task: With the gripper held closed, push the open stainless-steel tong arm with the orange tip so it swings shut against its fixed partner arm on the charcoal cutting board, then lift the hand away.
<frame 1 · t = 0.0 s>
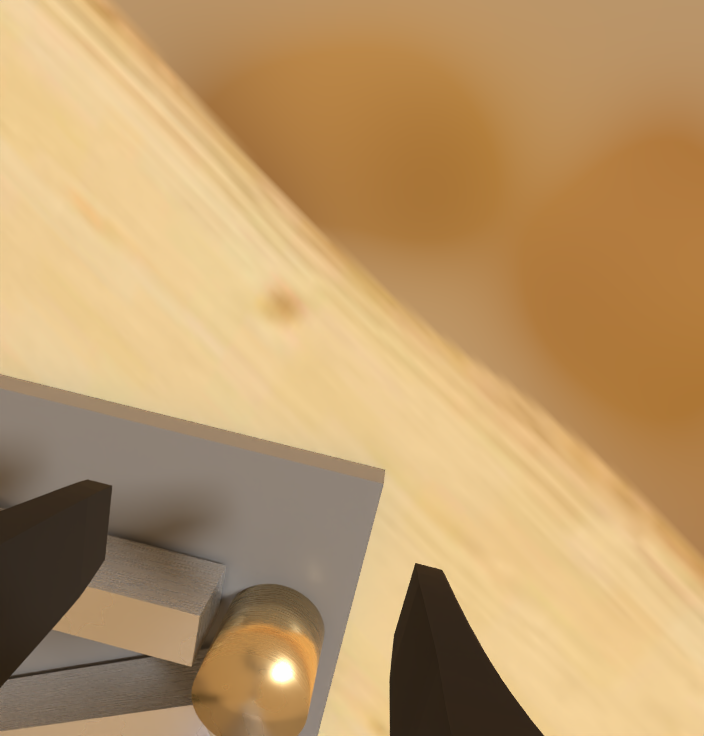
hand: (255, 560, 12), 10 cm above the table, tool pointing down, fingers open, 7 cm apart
cutting board: (90, 593, 26), on the table
tongs fixed: (273, 631, 24), resting on cutting board
tong arm: (52, 719, 24), point 3 cm above the table, hinge at 28.0°
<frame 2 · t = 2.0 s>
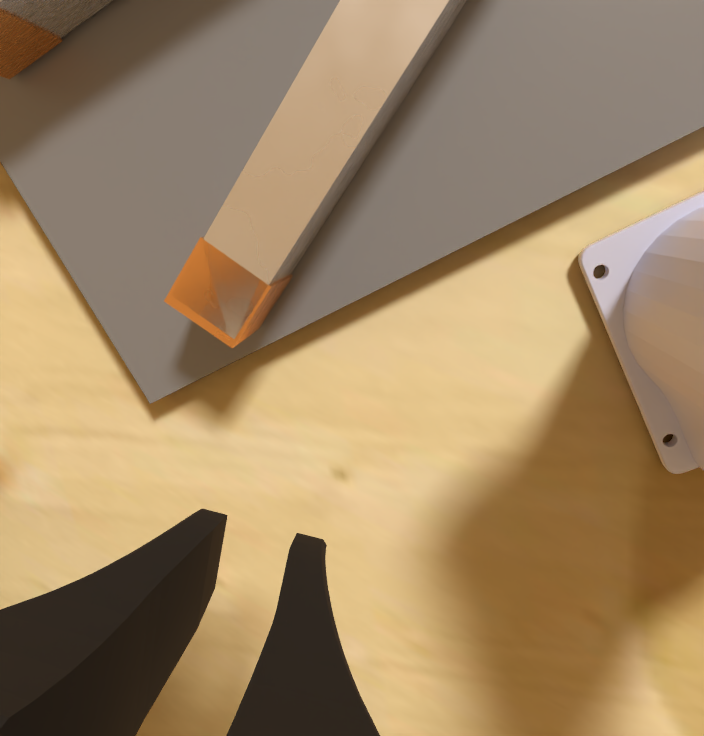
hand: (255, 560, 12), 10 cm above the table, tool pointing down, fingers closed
tong arm: (348, 98, 16), point 3 cm above the table, hinge at 28.0°
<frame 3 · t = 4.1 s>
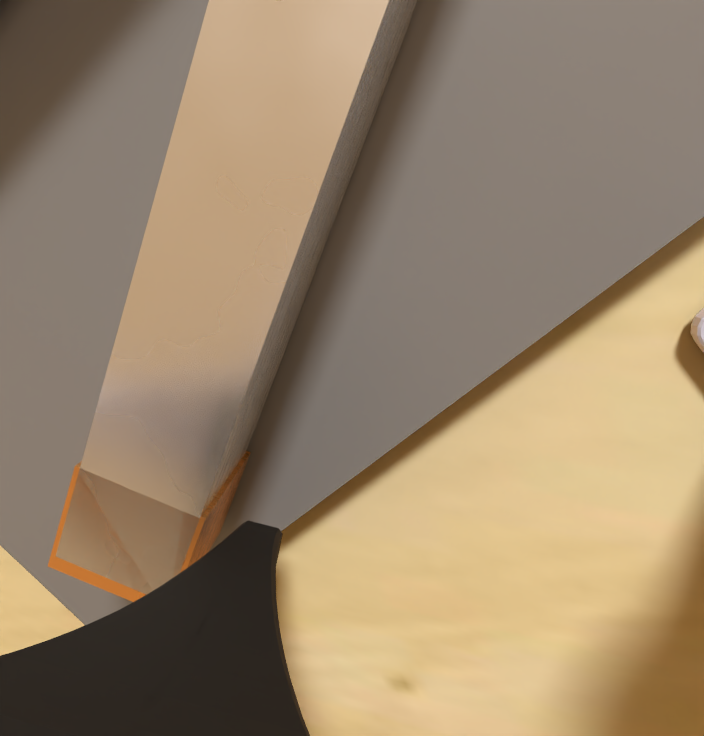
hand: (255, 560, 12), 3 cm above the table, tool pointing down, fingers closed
cutting board: (167, 56, 12), on the table
tong arm: (262, 193, 10), point 3 cm above the table, hinge at 26.8°, touching gripper
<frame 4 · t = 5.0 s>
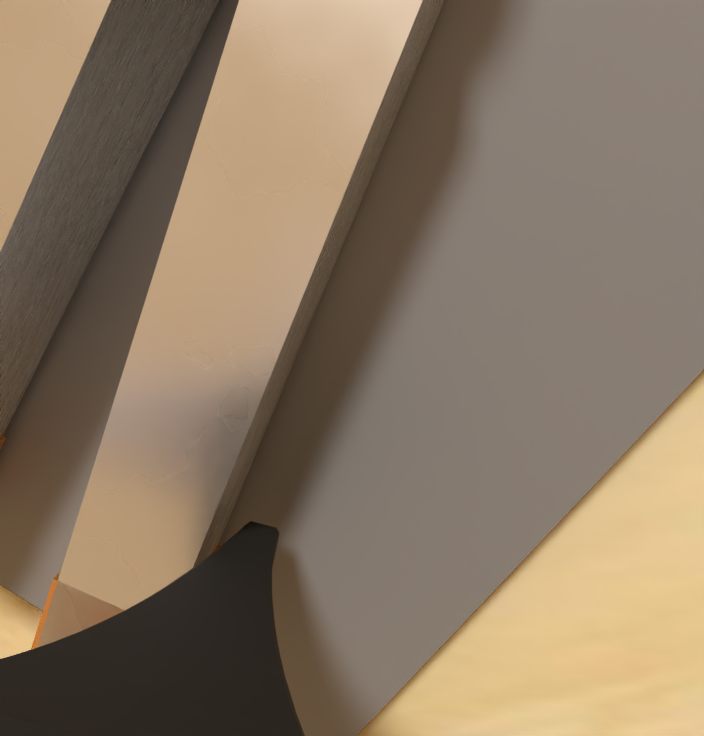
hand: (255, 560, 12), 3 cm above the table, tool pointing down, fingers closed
cutting board: (246, 232, 13), on the table
tong arm: (231, 333, 11), point 3 cm above the table, hinge at 10.5°, touching gripper
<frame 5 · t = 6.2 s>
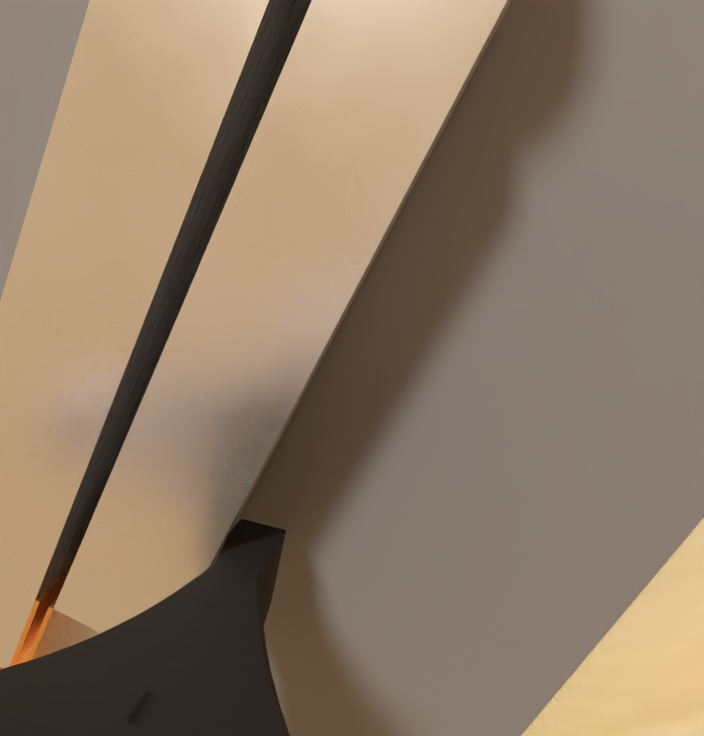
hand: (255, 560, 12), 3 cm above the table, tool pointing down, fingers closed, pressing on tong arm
cutting board: (328, 297, 13), on the table
tong arm: (241, 379, 11), point 3 cm above the table, hinge at -0.7°, touching gripper
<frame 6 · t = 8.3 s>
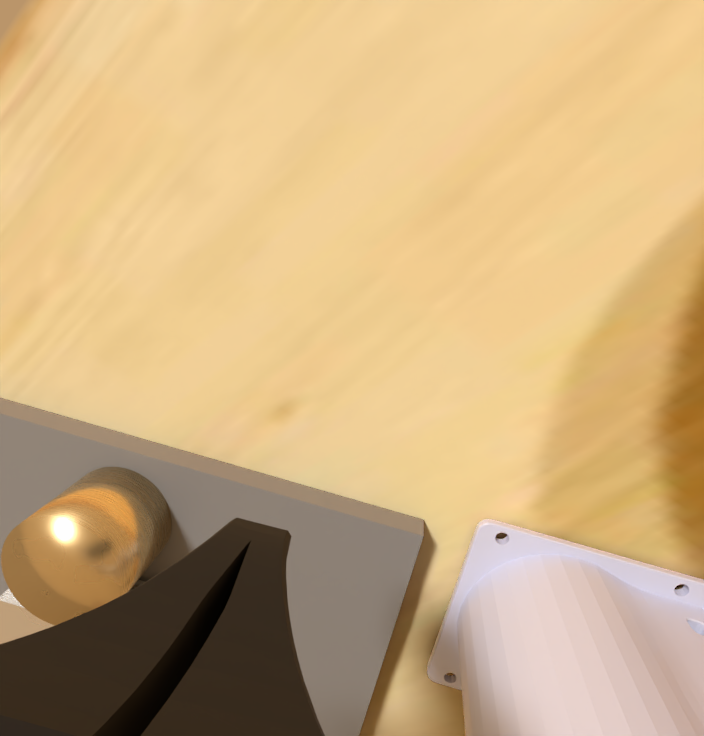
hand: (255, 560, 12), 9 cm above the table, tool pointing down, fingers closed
cutting board: (150, 676, 26), on the table
tongs fixed: (116, 519, 22), resting on cutting board
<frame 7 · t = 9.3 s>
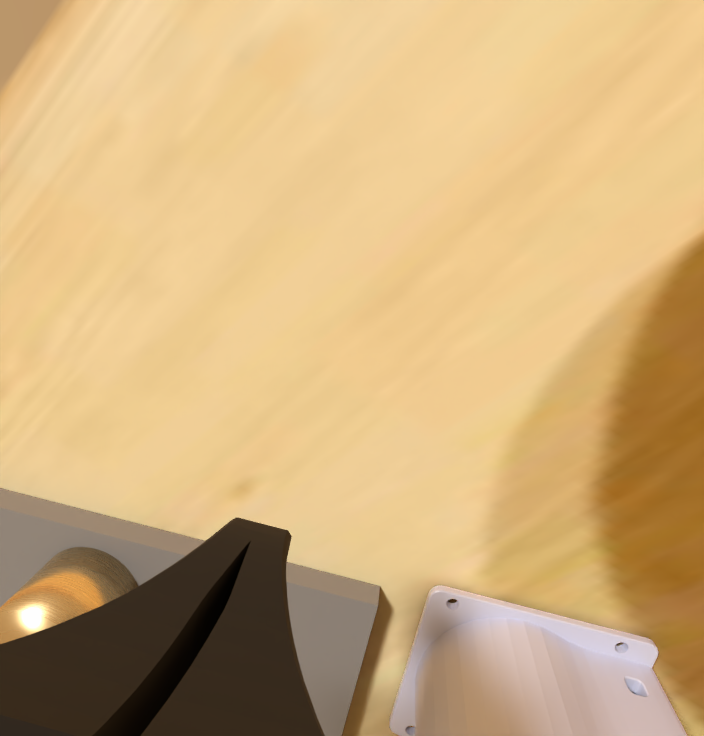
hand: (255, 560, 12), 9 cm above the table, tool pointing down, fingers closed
cutting board: (129, 733, 27), on the table
tongs fixed: (87, 596, 23), resting on cutting board
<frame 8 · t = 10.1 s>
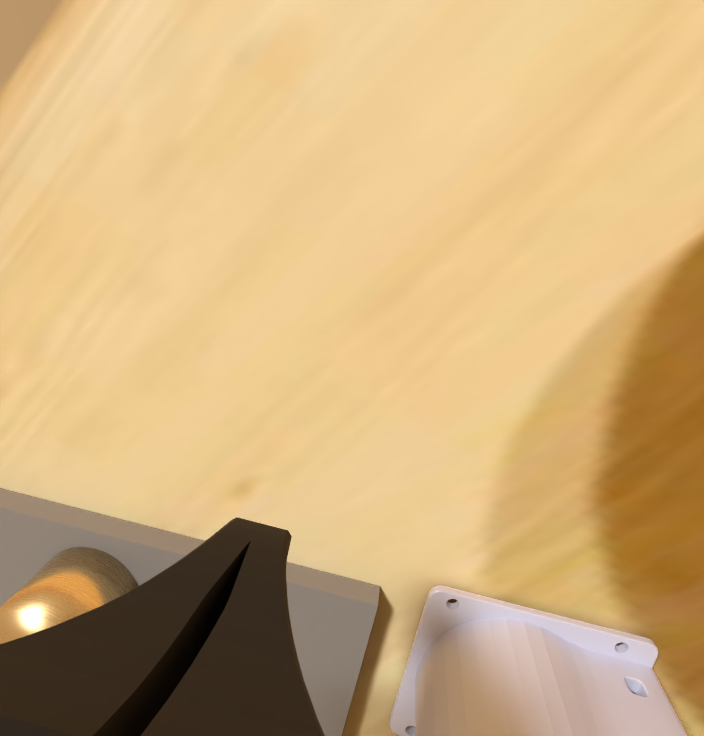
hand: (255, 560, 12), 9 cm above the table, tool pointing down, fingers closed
cutting board: (129, 733, 27), on the table
tongs fixed: (87, 596, 23), resting on cutting board
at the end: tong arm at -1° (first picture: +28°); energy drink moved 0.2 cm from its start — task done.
